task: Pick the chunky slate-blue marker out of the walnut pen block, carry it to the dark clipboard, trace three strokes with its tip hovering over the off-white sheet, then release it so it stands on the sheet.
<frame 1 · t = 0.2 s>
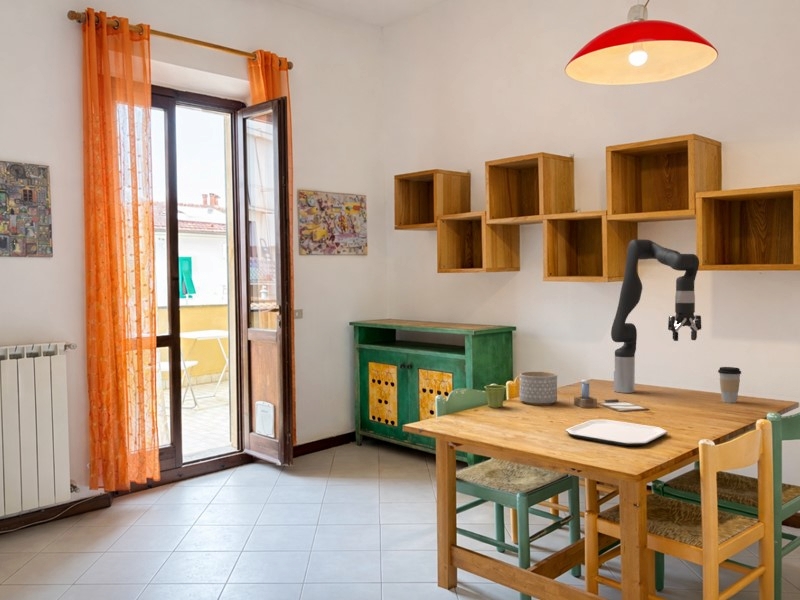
hand: (684, 340, 274), 29 cm above the table, fingers open, 8 cm apart
planter: (538, 402, 293), on the table
coffee cup: (729, 402, 292), on the table
marker: (585, 393, 284), in the pen block
clipboard: (622, 406, 282), on the table
plant pot: (495, 407, 284), on the table
plate: (616, 436, 232), on the table
pen block: (585, 405, 284), on the table
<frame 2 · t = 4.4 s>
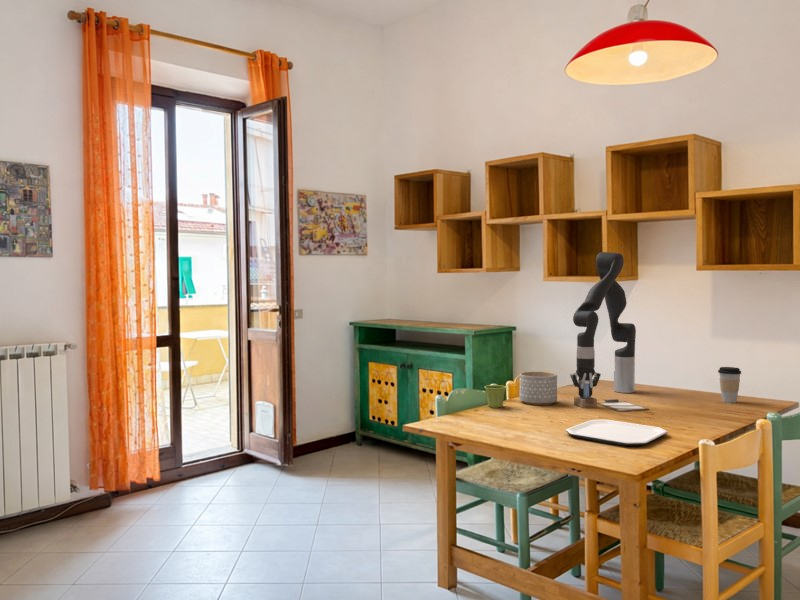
hand: (585, 396, 284), 4 cm above the table, fingers closed on marker, 3 cm apart
marker: (585, 393, 284), in the pen block, touching gripper
everything else where it was.
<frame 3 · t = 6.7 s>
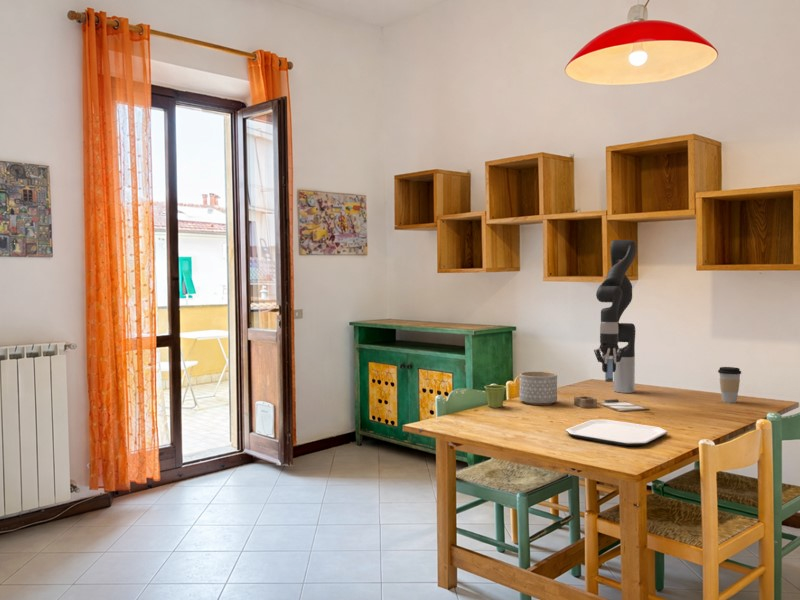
hand: (608, 371, 284), 15 cm above the table, fingers closed on marker, 3 cm apart
marker: (609, 368, 284), point 16 cm above the table, touching gripper
everything else where it was.
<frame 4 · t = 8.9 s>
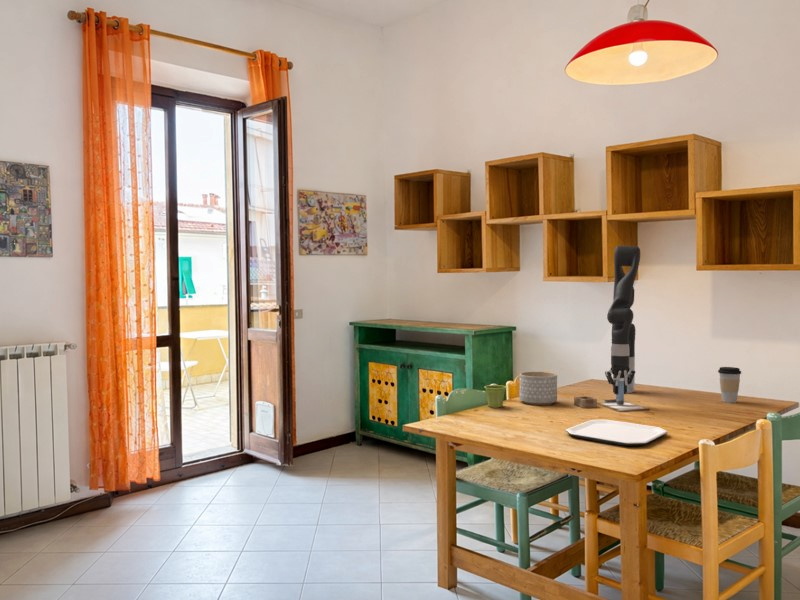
hand: (619, 393, 283), 5 cm above the table, fingers closed on marker, 3 cm apart
marker: (620, 390, 283), point 7 cm above the table, touching gripper
everything else where it was.
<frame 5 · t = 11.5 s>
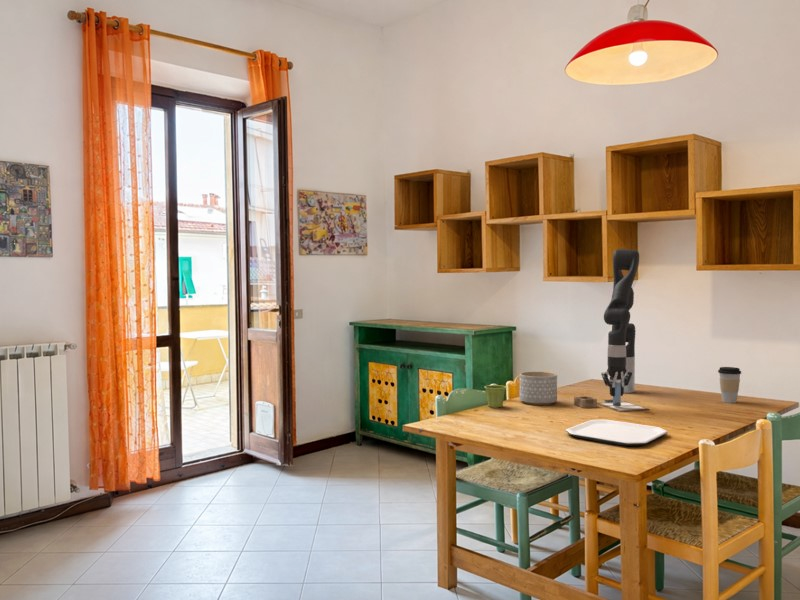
hand: (616, 395, 279), 5 cm above the table, fingers closed on marker, 3 cm apart
marker: (616, 392, 278), point 7 cm above the table, touching gripper
everything else where it was.
when the fingers open (5 cm above the table, at t = 13.6 s): marker stays where it is, resting on clipboard.
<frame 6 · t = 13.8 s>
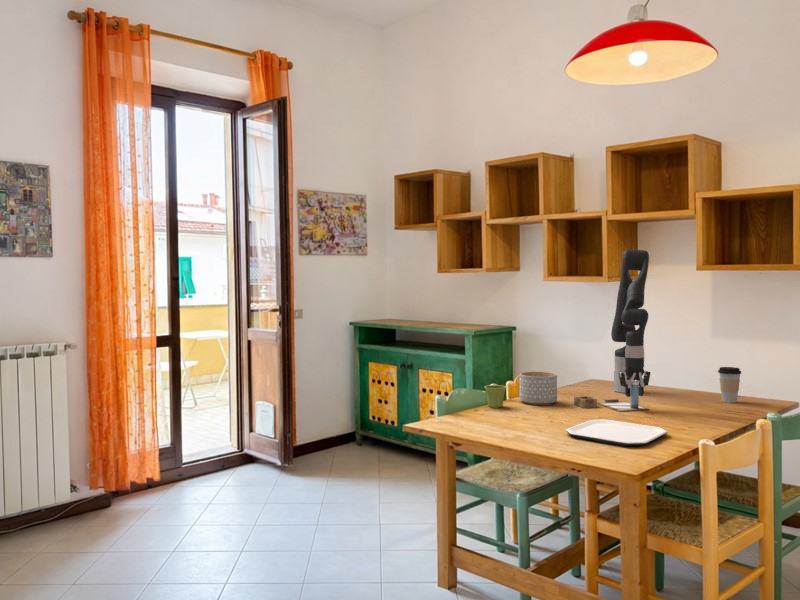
hand: (634, 396, 276), 6 cm above the table, fingers open, 5 cm apart
marker: (634, 394, 276), point 6 cm above the table, touching clipboard
everything else where it was.
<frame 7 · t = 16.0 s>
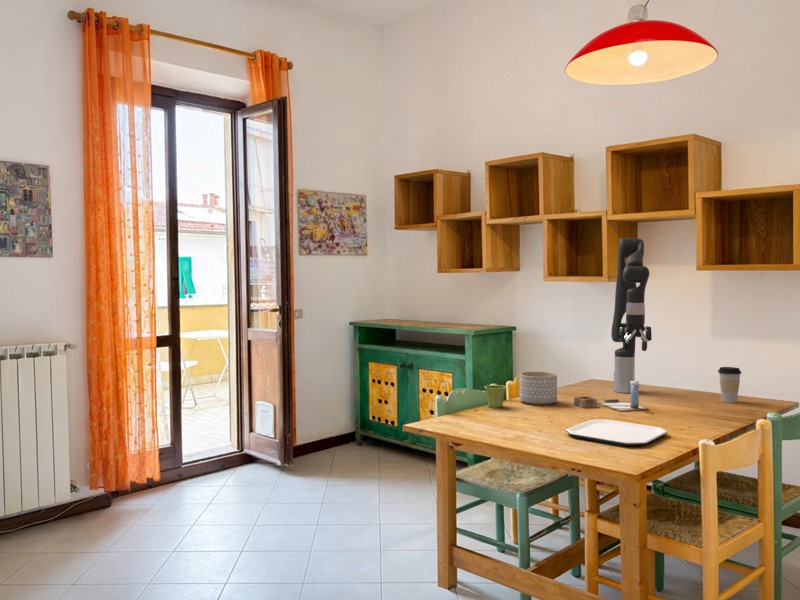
hand: (634, 351, 279), 24 cm above the table, fingers open, 8 cm apart
nothing on the table moved.
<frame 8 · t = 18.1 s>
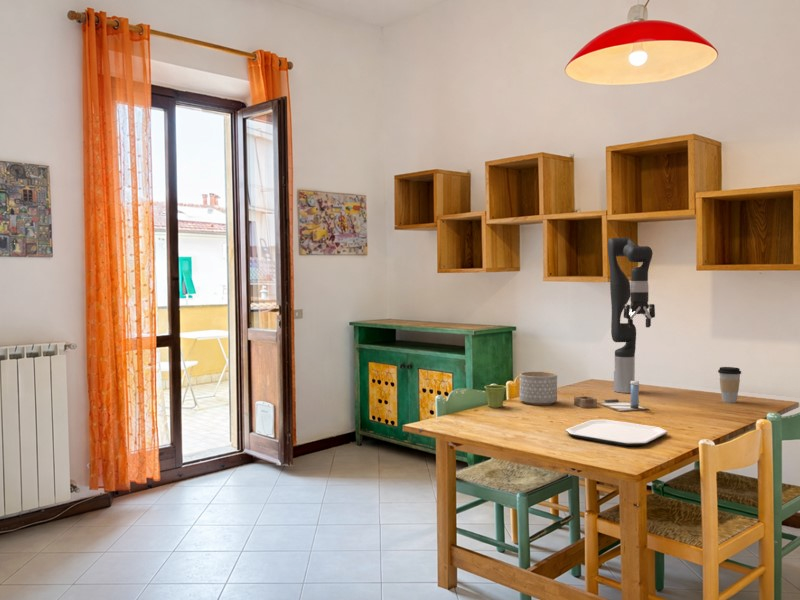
hand: (639, 327, 292), 33 cm above the table, fingers open, 8 cm apart
nothing on the table moved.
at the end: marker inside the target area on the clipboard (6.4 cm from its centre), point 6.2 cm above the clipboard's base; marker tilted 1°; the gripper is holding nothing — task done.
